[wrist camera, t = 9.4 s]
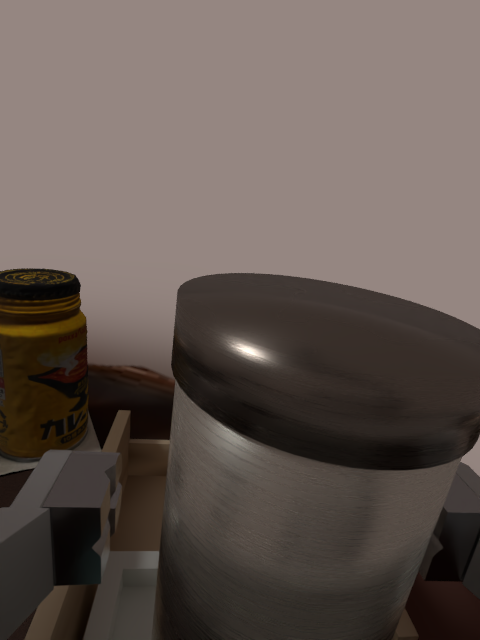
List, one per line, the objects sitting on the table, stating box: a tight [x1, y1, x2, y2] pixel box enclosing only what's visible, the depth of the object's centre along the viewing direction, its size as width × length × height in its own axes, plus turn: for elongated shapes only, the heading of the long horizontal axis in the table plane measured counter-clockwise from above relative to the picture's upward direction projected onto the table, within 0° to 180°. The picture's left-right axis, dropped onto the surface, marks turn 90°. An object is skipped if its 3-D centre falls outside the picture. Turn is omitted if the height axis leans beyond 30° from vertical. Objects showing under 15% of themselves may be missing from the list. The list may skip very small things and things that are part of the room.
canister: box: [151, 273, 480, 640], centre depth 8 cm, size 5×5×14 cm
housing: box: [25, 410, 419, 640], centre depth 18 cm, size 12×12×5 cm
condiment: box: [0, 269, 102, 475], centre depth 25 cm, size 7×8×12 cm
